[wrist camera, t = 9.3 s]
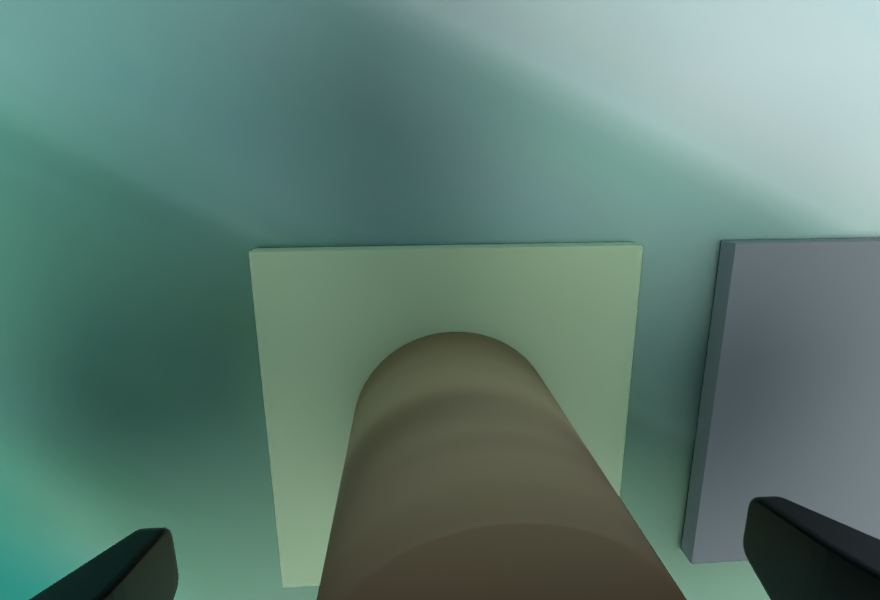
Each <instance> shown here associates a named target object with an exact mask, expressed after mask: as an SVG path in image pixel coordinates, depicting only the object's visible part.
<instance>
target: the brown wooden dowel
mask: <svg viewBox="0 0 880 600" xmlns="http://www.w3.org/2000/svg"><path fill="white" fill-rule="evenodd" d="M317 600H686V598H685V597H684V595H683V594H682V592H681V591H680V589H679V587H678V586H677V584H676V583H675V581H674V580H673V578H672V577H671V575H670V574H669V572H668V571H667V569H666V568H665V566H664V565H663V563H662V562H661V560H660V558H659V557H658V555H657V554H656V552H655V551H654V549H653V548H652V546H651V545H650V543H649V542H648V540H647V539H646V537H645V536H644V534H643V533H642V531H641V529H640V528H639V526H638V525H637V523H636V522H635V520H634V519H633V517H632V516H631V514H630V513H629V511H628V510H627V508H626V507H625V505H624V504H623V502H622V500H621V499H620V497H619V496H618V494H617V493H616V491H615V490H614V488H613V487H612V485H611V484H610V482H609V481H608V479H607V478H606V476H605V475H604V473H603V471H602V470H601V468H600V467H599V465H598V464H597V462H596V461H595V459H594V458H593V456H592V455H591V453H590V452H589V450H588V449H587V447H586V446H585V444H584V443H583V441H582V439H581V438H580V436H579V435H578V433H577V432H576V430H575V429H574V427H573V426H572V424H571V423H570V421H569V420H568V418H567V417H566V415H565V414H564V412H563V410H562V409H561V407H560V406H559V404H558V403H557V401H556V400H555V398H554V397H553V395H552V394H551V392H550V391H549V389H548V388H547V386H546V385H545V383H544V381H543V380H542V378H541V377H540V375H539V374H538V372H537V371H536V370H535V368H534V367H533V366H532V365H531V363H530V362H529V361H528V360H527V359H526V358H525V357H524V356H523V355H521V354H520V353H519V352H518V351H517V350H515V349H513V348H512V347H510V346H509V345H507V344H505V343H503V342H501V341H499V340H497V339H494V338H492V337H488V336H485V335H482V334H476V333H470V332H444V333H437V334H432V335H428V336H425V337H422V338H419V339H416V340H414V341H412V342H410V343H408V344H406V345H404V346H402V347H400V348H399V349H397V350H396V351H394V352H393V353H391V354H390V355H389V356H388V357H386V358H385V359H384V360H383V361H382V362H381V363H380V364H379V365H378V366H377V367H376V369H375V370H374V371H373V372H372V373H371V375H370V376H369V378H368V379H367V381H366V382H365V384H364V386H363V388H362V390H361V393H360V395H359V398H358V401H357V404H356V408H355V413H354V418H353V423H352V428H351V433H350V438H349V443H348V448H347V453H346V458H345V462H344V467H343V472H342V477H341V482H340V487H339V492H338V497H337V502H336V507H335V512H334V517H333V522H332V527H331V532H330V537H329V542H328V547H327V552H326V557H325V562H324V566H323V571H322V576H321V581H320V586H319V591H318V596H317Z"/></svg>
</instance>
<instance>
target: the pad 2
mask: <svg viewBox="0 0 880 600" xmlns="http://www.w3.org/2000/svg"><path fill="white" fill-rule="evenodd" d="M767 496H779V497H783V498H785V499H787V500H790V501H792V502H794V503H797V504H799V505H801V506H804V507H806V508H808V509H810V510H813V511H815V512H817V513H820V514H822V515H824V516H827V517H829V518H831V519H834V520H836V521H838V522H840V523H843V524H845V525H847V526H850V527H852V528H854V529H857V530H859V531H861V532H863V533H866V534H868V535H870V536H873V537H875V538H877V539H880V238H830V239H771V240H722V242H721V249H720V257H719V264H718V272H717V280H716V287H715V295H714V302H713V310H712V318H711V325H710V333H709V340H708V348H707V356H706V363H705V371H704V378H703V386H702V394H701V401H700V409H699V416H698V424H697V432H696V439H695V447H694V454H693V462H692V470H691V477H690V485H689V492H688V500H687V508H686V515H685V523H684V530H683V538H682V545H681V550H682V551H683V553H684V554H685V555H686V557H687V558H688V559H689V561H690V562H691V564H695V563H712V562H728V561H745V560H748V559H747V557H746V555H745V552H744V548H743V536H744V530H745V524H746V517H747V511H748V506H749V503H750V501H751V500H752V499H753V498H755V497H767Z"/></svg>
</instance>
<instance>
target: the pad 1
mask: <svg viewBox="0 0 880 600" xmlns="http://www.w3.org/2000/svg"><path fill="white" fill-rule="evenodd" d="M248 253H249V262H250V272H251V282H252V292H253V301H254V311H255V321H256V331H257V341H258V350H259V360H260V370H261V380H262V390H263V399H264V409H265V419H266V429H267V439H268V448H269V458H270V468H271V478H272V488H273V497H274V507H275V517H276V527H277V536H278V546H279V556H280V566H281V576H282V585H283V588H291V587H307V586H320V581H321V576H322V571H323V566H324V562H325V557H326V552H327V547H328V542H329V537H330V532H331V527H332V522H333V517H334V512H335V507H336V502H337V497H338V492H339V487H340V482H341V477H342V472H343V467H344V462H345V458H346V453H347V448H348V443H349V438H350V433H351V428H352V423H353V418H354V413H355V408H356V404H357V401H358V398H359V395H360V393H361V390H362V388H363V386H364V384H365V382H366V381H367V379H368V378H369V376H370V375H371V373H372V372H373V371H374V370H375V369H376V367H377V366H378V365H379V364H380V363H381V362H382V361H383V360H384V359H385V358H386V357H388V356H389V355H390V354H391V353H393V352H394V351H396V350H397V349H399V348H400V347H402V346H404V345H406V344H408V343H410V342H412V341H414V340H416V339H419V338H422V337H425V336H428V335H432V334H437V333H444V332H470V333H476V334H482V335H485V336H488V337H492V338H494V339H497V340H499V341H501V342H503V343H505V344H507V345H509V346H510V347H512V348H513V349H515V350H517V351H518V352H519V353H520V354H521V355H523V356H524V357H525V358H526V359H527V360H528V361H529V362H530V363H531V365H532V366H533V367H534V368H535V370H536V371H537V372H538V374H539V375H540V377H541V378H542V380H543V381H544V383H545V385H546V386H547V388H548V389H549V391H550V392H551V394H552V395H553V397H554V398H555V400H556V401H557V403H558V404H559V406H560V407H561V409H562V410H563V412H564V414H565V415H566V417H567V418H568V420H569V421H570V423H571V424H572V426H573V427H574V429H575V430H576V432H577V433H578V435H579V436H580V438H581V439H582V441H583V443H584V444H585V446H586V447H587V449H588V450H589V452H590V453H591V455H592V456H593V458H594V459H595V461H596V462H597V464H598V465H599V467H600V468H601V470H602V471H603V473H604V475H605V476H606V478H607V479H608V481H609V482H610V484H611V485H612V487H613V488H614V490H615V491H616V493H617V494H618V496H619V497H620V490H621V479H622V468H623V458H624V447H625V436H626V425H627V415H628V404H629V393H630V383H631V372H632V361H633V350H634V340H635V329H636V318H637V307H638V297H639V286H640V275H641V265H642V254H643V245H641V244H638V243H635V242H596V243H537V244H479V245H420V246H362V247H303V248H255V249H253V250H252V251H250V252H248Z"/></svg>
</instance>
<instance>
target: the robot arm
mask: <svg viewBox="0 0 880 600" xmlns="http://www.w3.org/2000/svg"><path fill="white" fill-rule="evenodd" d="M743 548H744V552H745V555H746V557H747V559H748V561H749V563H750V564H751V566H752V568H753V570H754V571H755V573H756V575H757V577H758V578H759V580H760V582H761V584H762V585H763V587H764V589H765V591H766V592H767V594H768V596H769V598H770V599H771V600H880V539H877V538H875V537H873V536H870V535H868V534H866V533H863V532H861V531H859V530H857V529H854V528H852V527H850V526H847V525H845V524H843V523H840V522H838V521H836V520H834V519H831V518H829V517H827V516H824V515H822V514H820V513H817V512H815V511H813V510H810V509H808V508H806V507H804V506H801V505H799V504H797V503H794V502H792V501H790V500H787V499H785V498H783V497H779V496H767V497H755V498H753V499H752V500H751V501H750V503H749V506H748V511H747V517H746V524H745V530H744V536H743ZM177 585H178V568H177V562H176V556H175V550H174V543H173V537H172V534H171V532H170V530H169V529H167V528H144V529H139V530H137V531H135V532H133V533H132V534H130V535H129V536H127V537H126V538H124V539H123V540H121V541H119V542H118V543H116V544H115V545H113V546H112V547H110V548H109V549H107V550H106V551H104V552H102V553H101V554H99V555H98V556H96V557H95V558H93V559H92V560H90V561H88V562H87V563H85V564H84V565H82V566H81V567H79V568H78V569H76V570H74V571H73V572H71V573H70V574H68V575H67V576H65V577H64V578H62V579H60V580H59V581H57V582H56V583H54V584H53V585H51V586H50V587H48V588H47V589H45V590H43V591H42V592H40V593H39V594H37V595H36V596H34V597H33V598H31V599H29V600H173V599H174V596H175V593H176V590H177Z"/></svg>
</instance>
